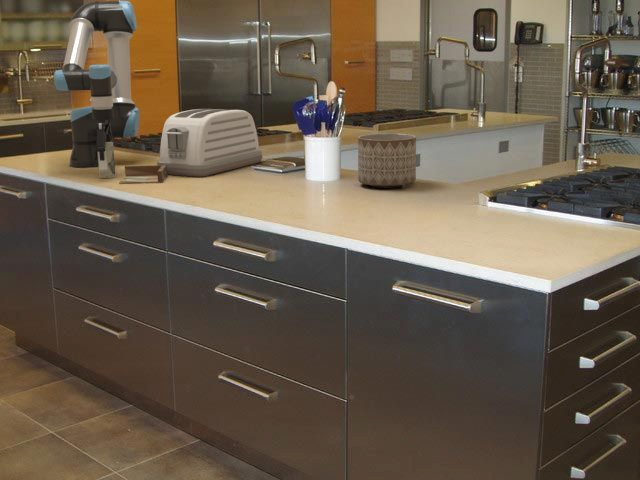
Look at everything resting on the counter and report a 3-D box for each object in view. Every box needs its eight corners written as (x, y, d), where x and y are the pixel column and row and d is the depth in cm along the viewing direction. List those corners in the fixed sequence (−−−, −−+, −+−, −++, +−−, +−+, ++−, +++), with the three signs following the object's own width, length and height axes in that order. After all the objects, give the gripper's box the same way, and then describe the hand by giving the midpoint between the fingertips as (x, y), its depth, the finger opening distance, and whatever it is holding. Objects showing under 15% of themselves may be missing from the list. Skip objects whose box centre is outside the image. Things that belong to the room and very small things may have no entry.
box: (110, 178, 323) (107, 143, 320) (98, 178, 324) (96, 143, 321) (116, 176, 328) (113, 141, 325) (105, 176, 329) (102, 141, 326)
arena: (126, 176, 326) (125, 166, 326) (167, 175, 327) (166, 164, 326) (119, 183, 312) (118, 172, 311) (162, 182, 312) (161, 171, 312)
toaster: (149, 175, 330) (145, 115, 324) (219, 159, 368) (217, 104, 362) (199, 179, 319) (196, 117, 313) (266, 162, 357) (264, 106, 351)
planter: (348, 183, 304) (348, 135, 300) (398, 178, 312) (398, 131, 308) (374, 192, 287) (373, 141, 283) (426, 187, 294) (426, 137, 291)
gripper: (98, 105, 332) (102, 162, 337) (84, 111, 308) (89, 172, 313) (118, 105, 333) (122, 161, 338) (106, 110, 309) (111, 171, 313)
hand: (106, 166), depth 325 cm, fingers open, 13 cm apart
